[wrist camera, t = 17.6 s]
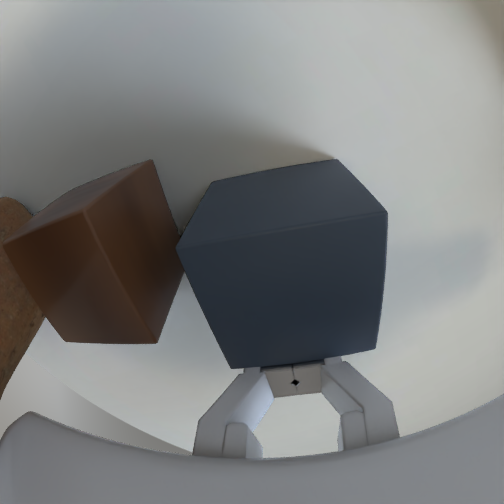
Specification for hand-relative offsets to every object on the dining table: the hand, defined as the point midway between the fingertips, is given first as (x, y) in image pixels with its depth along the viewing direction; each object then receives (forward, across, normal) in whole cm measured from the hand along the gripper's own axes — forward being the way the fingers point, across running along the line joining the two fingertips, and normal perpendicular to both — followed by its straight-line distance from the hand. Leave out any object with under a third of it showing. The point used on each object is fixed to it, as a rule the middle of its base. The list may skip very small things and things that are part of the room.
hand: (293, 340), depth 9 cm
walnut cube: (+3, +6, -4) cm, 8 cm away
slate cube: (+3, 0, -3) cm, 4 cm away
